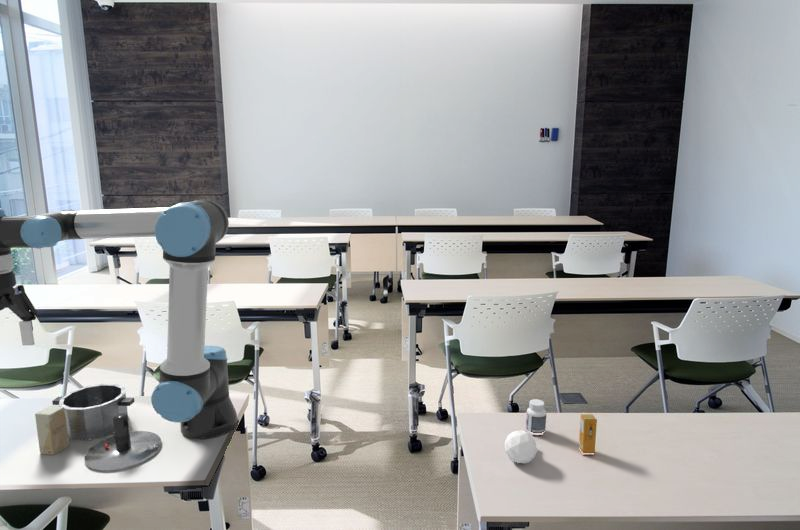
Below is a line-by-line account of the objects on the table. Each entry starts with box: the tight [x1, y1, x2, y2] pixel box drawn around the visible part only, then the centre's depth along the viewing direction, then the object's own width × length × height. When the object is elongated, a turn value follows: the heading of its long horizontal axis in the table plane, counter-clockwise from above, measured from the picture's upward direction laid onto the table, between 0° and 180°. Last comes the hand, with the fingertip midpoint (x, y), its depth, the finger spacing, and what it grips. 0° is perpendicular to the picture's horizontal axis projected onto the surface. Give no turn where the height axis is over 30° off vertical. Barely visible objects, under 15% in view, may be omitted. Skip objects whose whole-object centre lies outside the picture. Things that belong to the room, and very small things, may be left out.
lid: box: [84, 413, 162, 472], centre depth 135 cm, size 18×18×10 cm
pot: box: [51, 383, 135, 441], centre depth 148 cm, size 22×16×9 cm
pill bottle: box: [525, 398, 547, 433], centre depth 145 cm, size 5×5×9 cm
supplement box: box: [578, 413, 598, 454], centre depth 135 cm, size 3×3×10 cm
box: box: [34, 405, 70, 456], centre depth 136 cm, size 5×4×11 cm
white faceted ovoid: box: [504, 429, 538, 464], centre depth 133 cm, size 8×8×12 cm
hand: (9, 354), depth 132 cm, fingers open, 13 cm apart
